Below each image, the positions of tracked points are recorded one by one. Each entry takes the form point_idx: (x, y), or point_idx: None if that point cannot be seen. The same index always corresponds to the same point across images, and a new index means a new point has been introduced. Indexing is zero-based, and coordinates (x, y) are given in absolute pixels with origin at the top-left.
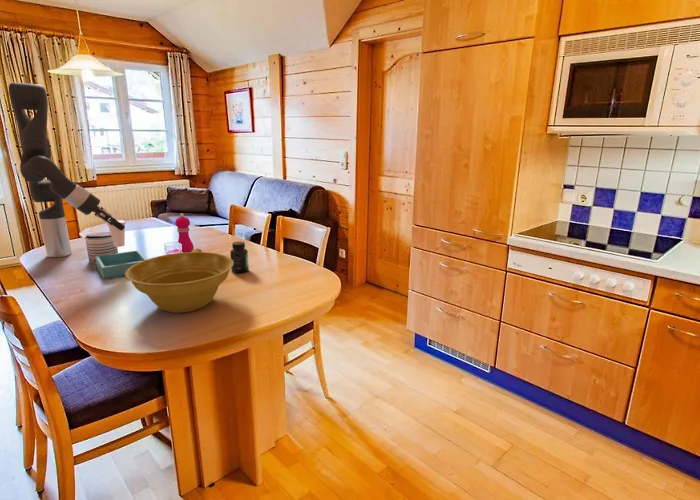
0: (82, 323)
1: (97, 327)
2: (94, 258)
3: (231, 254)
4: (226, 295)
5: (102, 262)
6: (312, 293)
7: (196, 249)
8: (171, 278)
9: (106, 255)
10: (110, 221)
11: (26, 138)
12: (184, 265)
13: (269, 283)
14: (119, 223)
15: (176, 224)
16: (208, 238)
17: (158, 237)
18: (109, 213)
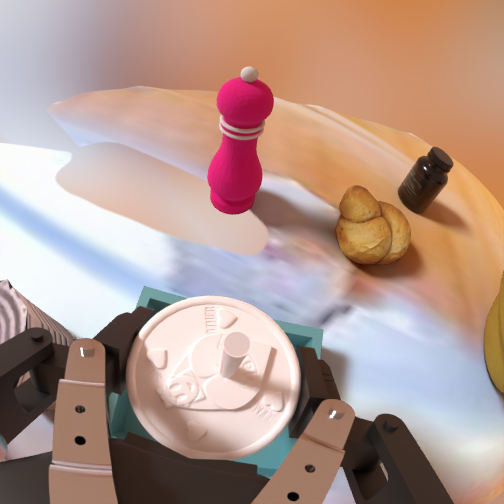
0: (477, 501)
1: (496, 477)
2: (50, 405)
3: (438, 185)
4: (493, 285)
5: (120, 423)
6: (498, 214)
7: (364, 193)
8: (498, 342)
9: (115, 407)
10: (140, 401)
11: None
12: (501, 299)
13: (469, 216)
14: (319, 382)
15: (247, 116)
16: (133, 110)
17: (23, 166)
18: (314, 472)
